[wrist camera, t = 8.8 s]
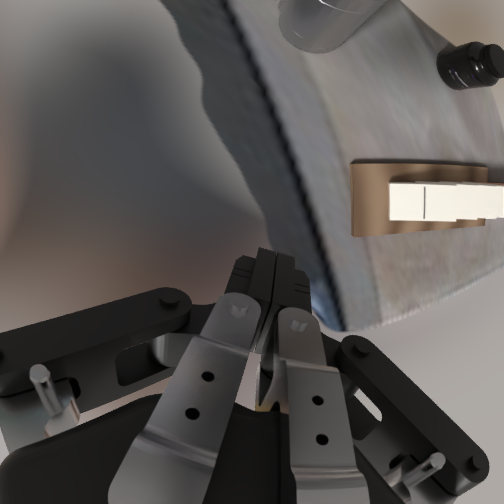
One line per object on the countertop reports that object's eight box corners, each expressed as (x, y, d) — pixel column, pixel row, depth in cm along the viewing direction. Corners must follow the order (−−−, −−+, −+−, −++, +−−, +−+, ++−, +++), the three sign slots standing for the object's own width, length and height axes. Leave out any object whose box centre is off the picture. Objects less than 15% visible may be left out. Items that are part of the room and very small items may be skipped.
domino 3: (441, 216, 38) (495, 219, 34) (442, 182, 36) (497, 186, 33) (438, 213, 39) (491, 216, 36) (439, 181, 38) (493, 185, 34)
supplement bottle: (437, 86, 34) (488, 76, 22) (432, 47, 32) (479, 29, 20) (468, 94, 34) (518, 89, 23) (463, 57, 32) (510, 45, 20)
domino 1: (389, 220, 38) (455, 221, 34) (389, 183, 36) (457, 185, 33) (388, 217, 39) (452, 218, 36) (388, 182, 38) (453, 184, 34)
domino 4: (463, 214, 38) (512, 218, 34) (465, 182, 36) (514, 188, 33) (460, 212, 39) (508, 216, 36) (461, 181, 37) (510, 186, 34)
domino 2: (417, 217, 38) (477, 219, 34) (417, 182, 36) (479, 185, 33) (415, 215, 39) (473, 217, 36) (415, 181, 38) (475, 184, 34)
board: (351, 234, 41) (354, 237, 40) (349, 163, 38) (352, 164, 37) (480, 223, 41) (484, 225, 40) (483, 166, 38) (487, 167, 37)
